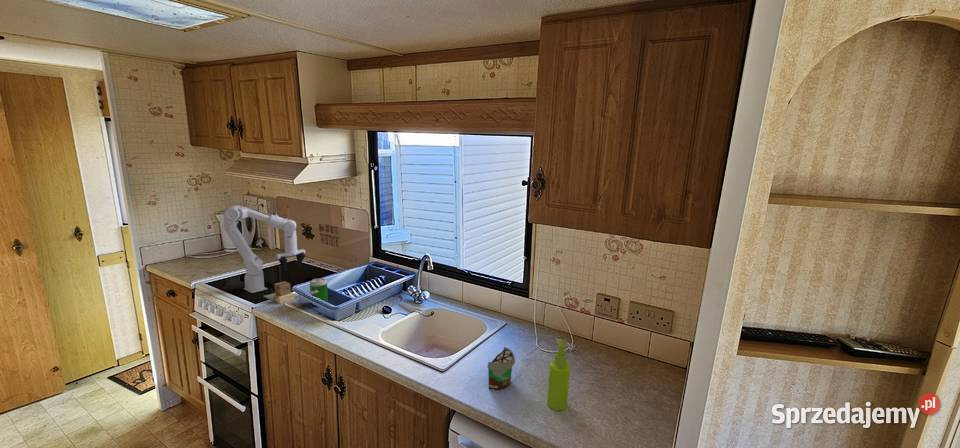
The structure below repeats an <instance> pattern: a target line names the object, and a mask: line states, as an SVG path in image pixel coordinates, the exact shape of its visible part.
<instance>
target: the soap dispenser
mask: <svg viewBox="0 0 960 448" xmlns="http://www.w3.org/2000/svg"><path fill="white" fill-rule="evenodd" d="M555 342H556V344H557V346H558V350H557V352H555V355H554V360H552V361H551V362H550V364H549V365H550V366H549V377H548V388H547V389H548V390H547V402H546V404H547V406H548V408H550V409H551V408H552V409H551V410H553V409H554V411H557V410H562V411H564V409H565V410H566V409H567V408H566V407H568V399H569V398H568V396H569V388H570V387H569V385H570V384H569V383H570V372H571V365H570V364H569V362H567V359H568V358H567V357H568V355H567V353H565V349H567V346H566V345H567V344H565V341H564V340H563V338H562V339H561V338H555Z"/></svg>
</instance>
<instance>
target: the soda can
mask: <svg viewBox="0 0 960 448" xmlns="http://www.w3.org/2000/svg"><path fill="white" fill-rule="evenodd" d="M309 293H310V294H311V295H312V296H315V297H317V298H320V299H321V300H324V301H328V302H329V299H328V298H329V296H328V295H329V294H328V293H329V292H328V281H327V280H326V279H325V278H319V277H318V278H313V279H312V280H311V281H310V282H309Z"/></svg>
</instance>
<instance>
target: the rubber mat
mask: <svg viewBox="0 0 960 448" xmlns="http://www.w3.org/2000/svg"><path fill="white" fill-rule="evenodd" d="M274 293H275V292H273V293H270V294H266V295H263V297H264V298H266V299H267V300H270V301H272V294H274ZM295 295H296V294H295ZM295 295H294V300H298V299H299V298H298V297H297V296H298V295H297V296H295ZM272 302H274V303H276V304H278V305H280V303H278V302H276V301H274V300H273V301H272ZM287 302H289V301H287ZM287 302H286V303H287Z"/></svg>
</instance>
